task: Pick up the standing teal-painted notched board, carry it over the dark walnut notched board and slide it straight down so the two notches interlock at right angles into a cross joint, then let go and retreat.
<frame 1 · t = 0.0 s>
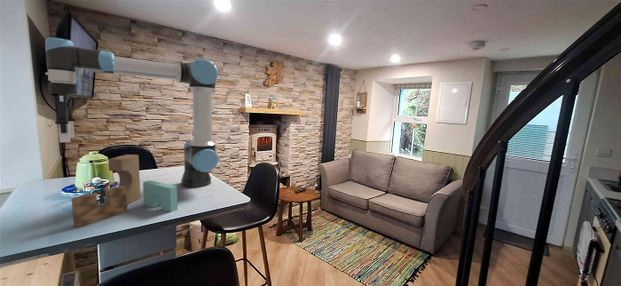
hand: (67, 139, 97), 28 cm above the table, fingers open, 13 cm apart
walnut board: (102, 218, 95), on the table
teal board: (160, 207, 108), on the table
decorative block: (126, 202, 112), on the table
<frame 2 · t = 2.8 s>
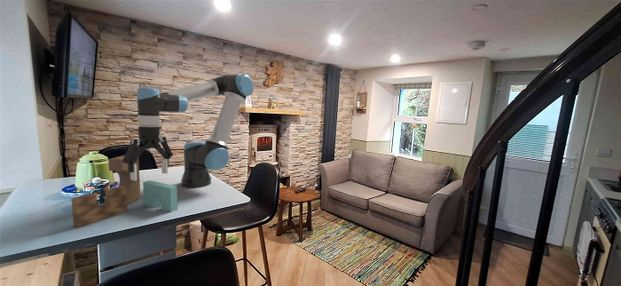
hand: (150, 176, 108), 13 cm above the table, fingers open, 13 cm apart
nothing on the table moved.
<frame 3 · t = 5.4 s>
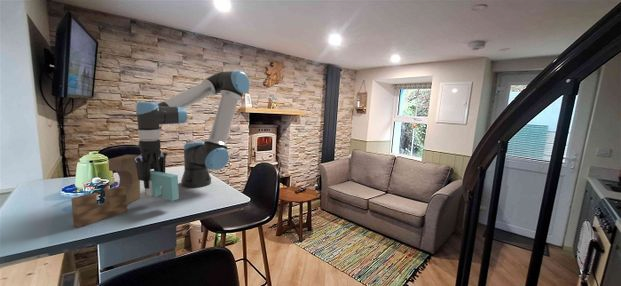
hand: (153, 193, 110), 5 cm above the table, fingers closed on teal board, 3 cm apart
teal board: (161, 196, 108), point 4 cm above the table, touching gripper
everything else where it was.
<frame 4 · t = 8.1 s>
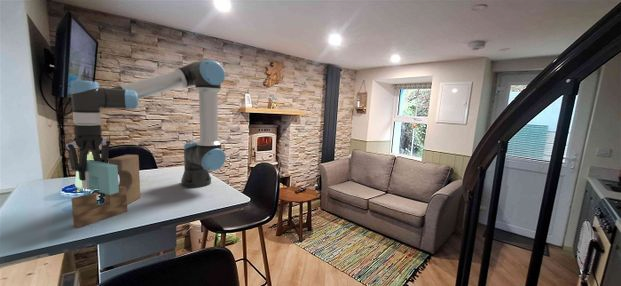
hand: (92, 186, 96), 11 cm above the table, fingers closed on teal board, 3 cm apart
teal board: (100, 189, 94), point 11 cm above the table, touching gripper
everything else where it was.
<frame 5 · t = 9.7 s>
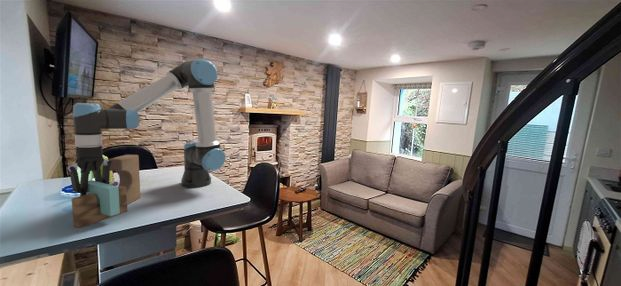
hand: (93, 207, 97), 3 cm above the table, fingers closed on teal board, 3 cm apart
teal board: (101, 210, 95), point 3 cm above the table, touching gripper
everything else where it was.
when the fingers open (1 cm above the table, at t = 11.1 s): teal board stays where it is, on the table.
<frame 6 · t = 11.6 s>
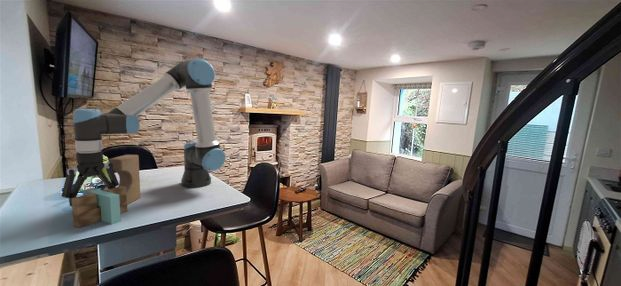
hand: (93, 209, 97), 2 cm above the table, fingers open, 10 cm apart
teal board: (102, 218, 96), on the table
everything else where it was.
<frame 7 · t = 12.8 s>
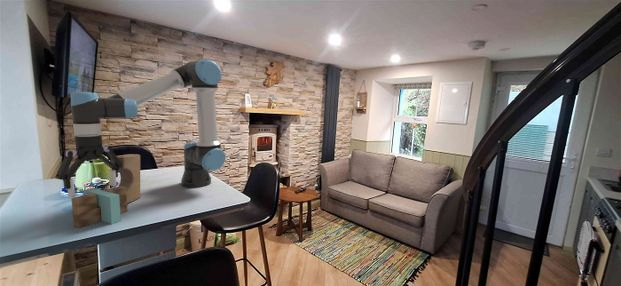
hand: (94, 191, 96), 9 cm above the table, fingers open, 13 cm apart
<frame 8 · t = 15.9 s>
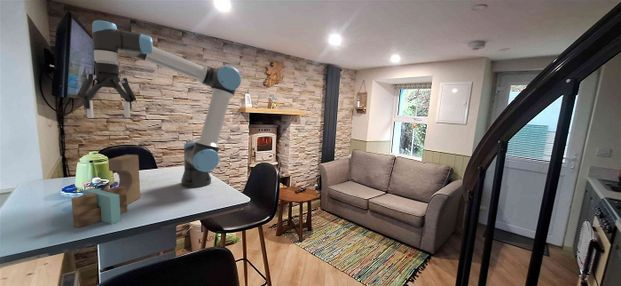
hand: (110, 117, 104), 37 cm above the table, fingers open, 13 cm apart
at the end: teal board 0.1 cm off-centre on the walnut board, point 0.0 cm above the walnut board's base; teal board tilted 0°; the gripper is holding nothing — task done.
